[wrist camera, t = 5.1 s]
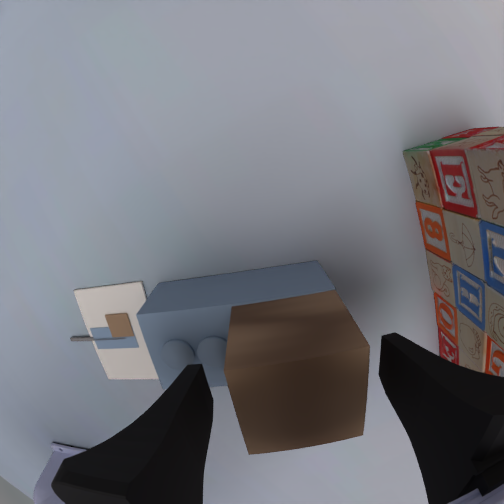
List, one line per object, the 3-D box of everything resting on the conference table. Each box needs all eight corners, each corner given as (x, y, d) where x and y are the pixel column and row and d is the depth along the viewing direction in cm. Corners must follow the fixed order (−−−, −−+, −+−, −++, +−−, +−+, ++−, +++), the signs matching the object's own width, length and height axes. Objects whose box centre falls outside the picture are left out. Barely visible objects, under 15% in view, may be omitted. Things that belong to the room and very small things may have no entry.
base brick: (177, 348, 18) (161, 392, 14) (158, 282, 17) (133, 317, 13) (322, 330, 18) (339, 373, 14) (317, 260, 17) (337, 290, 13)
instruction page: (90, 377, 19) (88, 380, 19) (55, 292, 17) (52, 294, 17) (172, 376, 19) (171, 379, 19) (142, 281, 17) (140, 283, 17)
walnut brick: (249, 384, 14) (248, 454, 10) (231, 306, 13) (223, 370, 9) (338, 370, 14) (363, 435, 10) (334, 289, 13) (369, 345, 9)
